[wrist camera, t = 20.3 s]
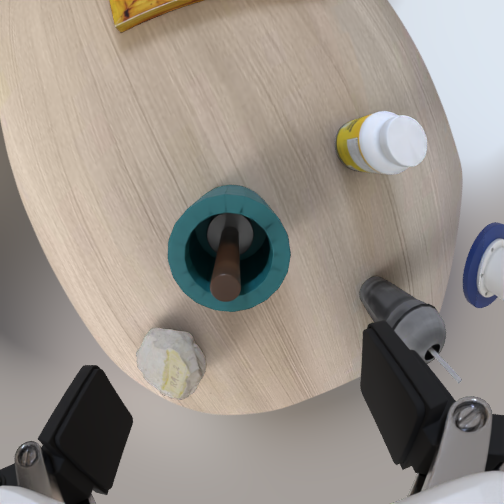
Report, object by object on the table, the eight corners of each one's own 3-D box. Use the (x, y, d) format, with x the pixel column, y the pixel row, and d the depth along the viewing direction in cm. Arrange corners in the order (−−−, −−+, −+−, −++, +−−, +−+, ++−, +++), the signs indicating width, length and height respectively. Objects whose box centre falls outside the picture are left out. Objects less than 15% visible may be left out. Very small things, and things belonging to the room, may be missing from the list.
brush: (247, 202, 32) (258, 241, 15) (255, 242, 33) (272, 315, 17) (206, 211, 32) (174, 258, 15) (215, 250, 33) (196, 329, 17)
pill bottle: (377, 123, 30) (432, 111, 19) (380, 172, 32) (435, 178, 21) (331, 119, 30) (374, 100, 19) (333, 171, 32) (379, 175, 21)
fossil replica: (153, 377, 40) (213, 371, 41) (147, 416, 32) (216, 412, 33) (128, 317, 35) (197, 309, 36) (113, 356, 27) (196, 349, 28)
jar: (263, 177, 32) (279, 183, 20) (277, 255, 34) (297, 299, 23) (183, 194, 32) (154, 210, 20) (201, 270, 34) (186, 319, 23)
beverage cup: (372, 257, 35) (469, 334, 16) (402, 282, 37) (490, 357, 18) (340, 299, 37) (411, 401, 18) (373, 320, 38) (443, 412, 19)
